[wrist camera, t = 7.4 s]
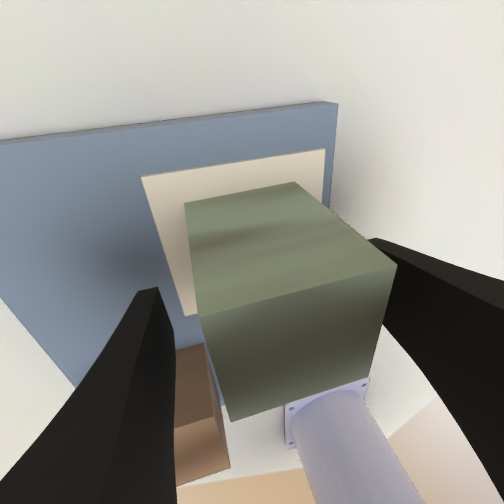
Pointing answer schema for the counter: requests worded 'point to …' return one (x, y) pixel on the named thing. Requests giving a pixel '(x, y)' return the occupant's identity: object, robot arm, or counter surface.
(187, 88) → the counter surface
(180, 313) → the board
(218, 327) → the sage block
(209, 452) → the walnut block
